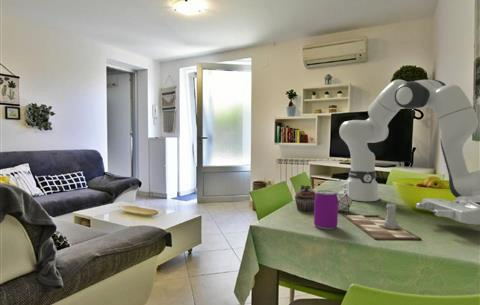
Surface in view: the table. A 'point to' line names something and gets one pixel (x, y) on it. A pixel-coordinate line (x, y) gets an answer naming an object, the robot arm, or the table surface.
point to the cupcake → (305, 199)
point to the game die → (344, 202)
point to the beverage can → (326, 209)
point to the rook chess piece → (390, 217)
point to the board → (380, 228)
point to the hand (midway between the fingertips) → (426, 209)
